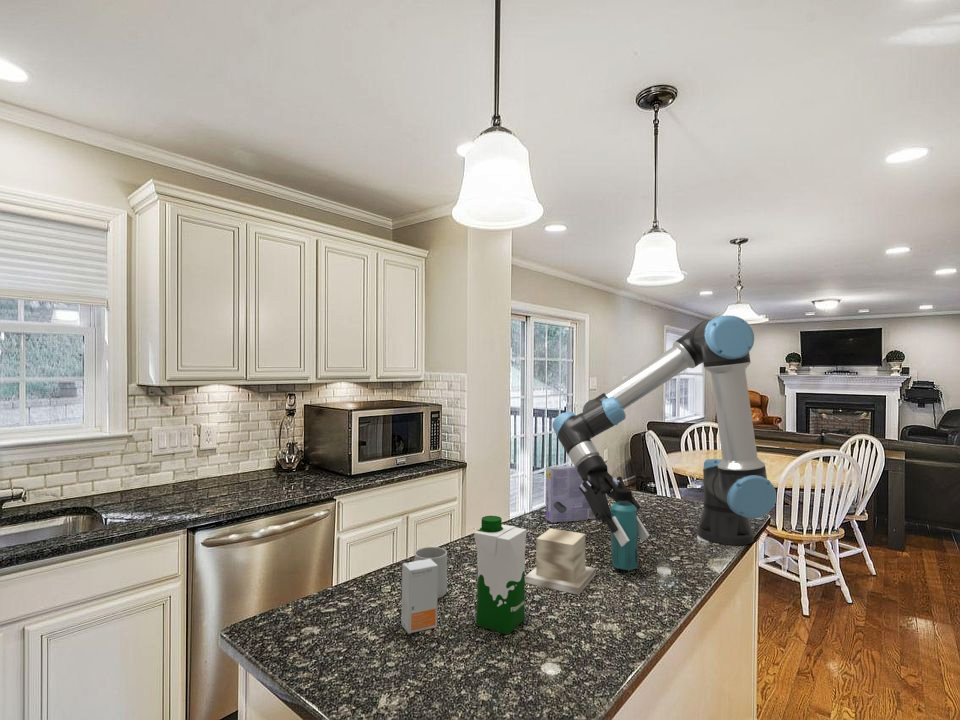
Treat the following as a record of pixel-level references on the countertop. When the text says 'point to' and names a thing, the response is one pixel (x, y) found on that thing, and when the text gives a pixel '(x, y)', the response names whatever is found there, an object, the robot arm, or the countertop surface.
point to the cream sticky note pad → (561, 562)
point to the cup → (440, 559)
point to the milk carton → (500, 575)
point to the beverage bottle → (628, 520)
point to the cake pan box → (565, 496)
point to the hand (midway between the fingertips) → (635, 540)
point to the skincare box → (419, 595)
